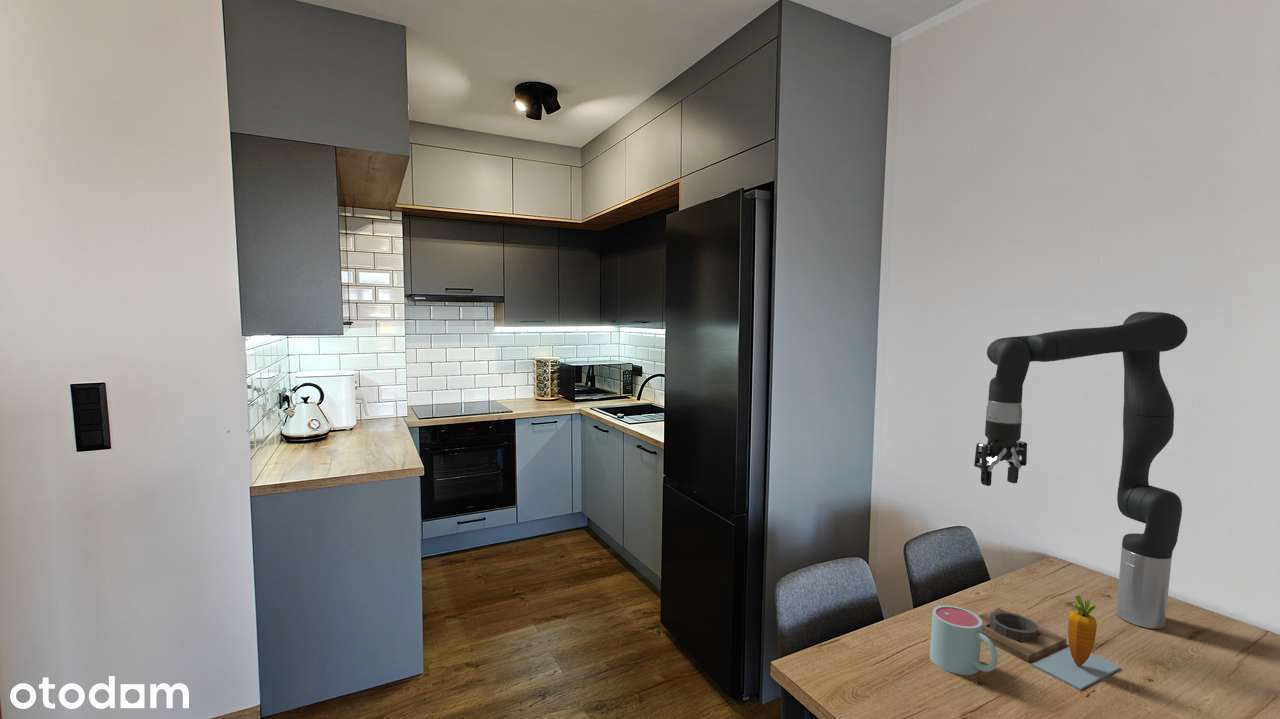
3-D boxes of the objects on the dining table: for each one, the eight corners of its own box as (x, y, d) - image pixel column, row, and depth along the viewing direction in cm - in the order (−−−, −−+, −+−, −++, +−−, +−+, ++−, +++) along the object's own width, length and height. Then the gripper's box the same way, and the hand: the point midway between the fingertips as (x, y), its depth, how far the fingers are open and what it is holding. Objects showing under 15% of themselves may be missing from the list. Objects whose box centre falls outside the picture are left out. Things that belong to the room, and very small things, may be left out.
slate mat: (1072, 646, 131) (1072, 645, 131) (1120, 668, 123) (1120, 666, 123) (1031, 665, 123) (1032, 663, 123) (1080, 690, 115) (1080, 688, 115)
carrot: (1098, 674, 120) (1105, 605, 118) (1071, 671, 121) (1077, 602, 119) (1085, 660, 125) (1091, 593, 123) (1059, 657, 126) (1064, 590, 124)
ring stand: (998, 613, 145) (999, 600, 144) (1066, 644, 131) (1067, 630, 131) (960, 628, 137) (962, 613, 137) (1028, 662, 124) (1029, 646, 124)
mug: (919, 654, 126) (922, 609, 125) (950, 645, 130) (953, 602, 129) (978, 693, 114) (982, 643, 113) (1010, 682, 117) (1014, 634, 117)
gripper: (994, 423, 138) (990, 490, 140) (1039, 421, 143) (1034, 486, 144) (968, 417, 145) (964, 481, 147) (1011, 415, 150) (1007, 477, 151)
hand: (999, 483), depth 145 cm, fingers open, 8 cm apart
